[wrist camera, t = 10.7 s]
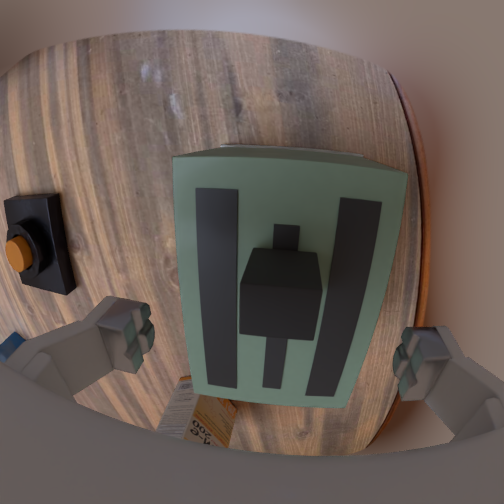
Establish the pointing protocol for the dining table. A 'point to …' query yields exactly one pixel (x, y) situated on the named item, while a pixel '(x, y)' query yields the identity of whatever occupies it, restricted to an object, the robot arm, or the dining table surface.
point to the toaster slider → (280, 294)
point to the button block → (42, 241)
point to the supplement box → (198, 416)
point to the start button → (19, 253)
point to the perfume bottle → (10, 346)
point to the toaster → (283, 238)
